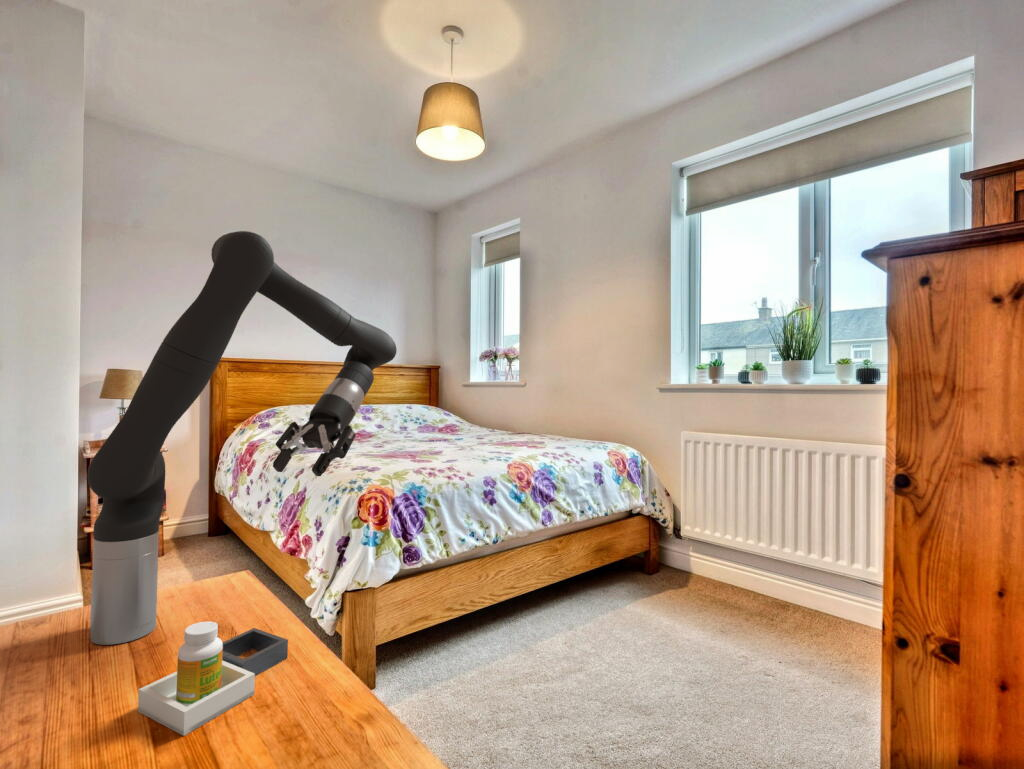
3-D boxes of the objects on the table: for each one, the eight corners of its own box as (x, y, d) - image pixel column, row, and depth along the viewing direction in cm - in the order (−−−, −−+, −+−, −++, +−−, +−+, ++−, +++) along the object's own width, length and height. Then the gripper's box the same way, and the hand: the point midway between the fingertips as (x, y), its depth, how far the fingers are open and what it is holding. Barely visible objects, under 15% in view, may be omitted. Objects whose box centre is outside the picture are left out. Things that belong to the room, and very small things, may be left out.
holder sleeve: (207, 668, 81) (207, 649, 81) (253, 645, 88) (254, 627, 88) (242, 683, 77) (242, 663, 77) (287, 658, 84) (287, 639, 84)
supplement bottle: (200, 712, 69) (203, 639, 69) (166, 705, 70) (168, 634, 70) (229, 688, 75) (232, 621, 75) (197, 683, 76) (199, 616, 76)
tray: (138, 711, 70) (138, 689, 70) (209, 675, 79) (210, 655, 79) (183, 736, 65) (184, 712, 65) (254, 694, 74) (254, 673, 74)
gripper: (300, 391, 104) (253, 455, 93) (361, 393, 99) (319, 462, 88) (317, 416, 109) (274, 480, 98) (376, 420, 104) (338, 487, 93)
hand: (295, 471), depth 93 cm, fingers open, 8 cm apart
